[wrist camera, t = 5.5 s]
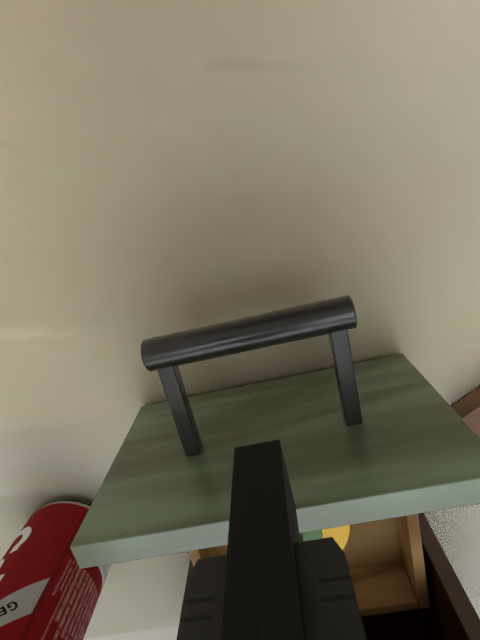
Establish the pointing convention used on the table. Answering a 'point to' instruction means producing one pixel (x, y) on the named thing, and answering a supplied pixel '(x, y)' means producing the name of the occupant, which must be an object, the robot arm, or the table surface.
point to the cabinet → (444, 596)
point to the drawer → (289, 455)
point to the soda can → (48, 578)
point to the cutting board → (470, 410)
